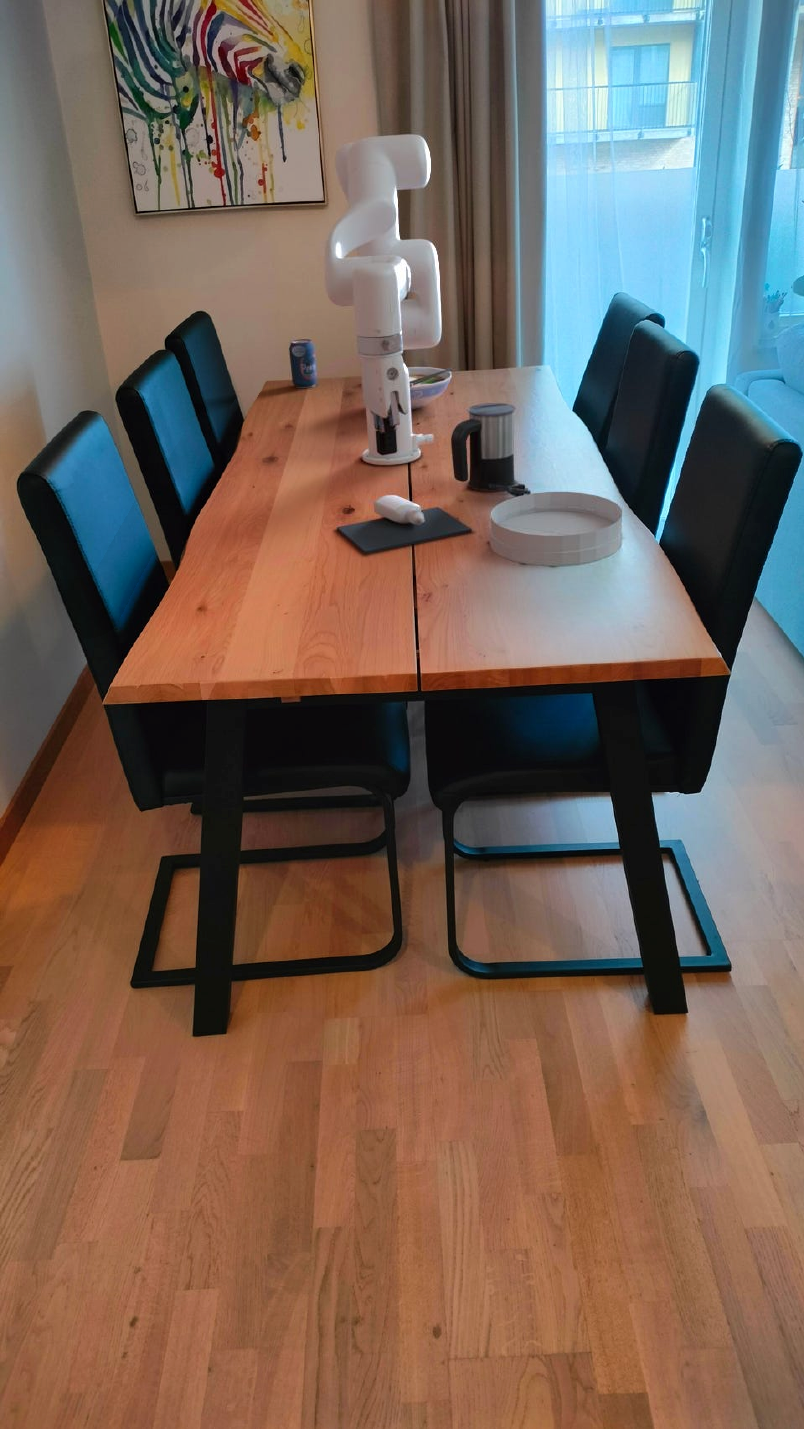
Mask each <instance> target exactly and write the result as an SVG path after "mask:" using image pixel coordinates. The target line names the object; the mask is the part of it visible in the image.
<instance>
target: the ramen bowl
mask: <svg viewBox="0 0 804 1429" xmlns="http://www.w3.org/2000/svg"><path fill="white" fill-rule="evenodd" d="M456 368H457V367H456V366H452V367H449V368H446V369H443V368H438V367H428V366H426V367H425V366H413V367H409V366H408V367H407V370H408V373H409V384H410V402H411V411H412V410H417V409H420V408H423V407H424V406H425V405H427V404H430V403H432V402H433V401H435V400H436V399H438V398H439V397H440V396H441V395H443V394H444V392H445V391H446V389H447V388H448V386H449V384H450V381H451V379H452V372H451V371H452V370H455V369H456ZM360 382H361V383H362V380H361V381H360Z"/></svg>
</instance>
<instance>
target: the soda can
mask: <svg viewBox="0 0 804 1429" xmlns="http://www.w3.org/2000/svg"><path fill="white" fill-rule="evenodd" d="M315 352H316V351H315V346H314V344H313V342H312V339H308V338H301V339H299V338H298V339H293V340H291V341H290V342H289V347H288V354H289V363H290V371H291V378H292V379H291V382H292V384H293V385H294V387H295V389H296V388H297V389H309V388H310V389H311V388H314V387H316V384H317V382H318V374H317V372H318V371H317V364H316V354H315Z"/></svg>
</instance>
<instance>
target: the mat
mask: <svg viewBox="0 0 804 1429" xmlns="http://www.w3.org/2000/svg"><path fill="white" fill-rule="evenodd" d="M421 512H422V513H423V515H424V519H425V521H424V522H422V523H421V524H420V525H415V524H412V523H408V524H401V523H397V522H394V521H392V520H390V519H387V518H385V517H380V518H374V519H370V520H365V521H361V522H356V523H351V524H345V525H341V526H336V531H337V532H339V533H340V534H341V535H342V536H343V537H344V538H346V539H347V540H348V541H349V542H350V543H351V544H352V545H354V547H356V548H357V549H358V550H360V551H361V552H362V553H363V554H364V555H365V556H366V555H370V554H374V553H379V552H385V551H389V550H394V549H399V548H403V547H408V546H413V545H417V544H423V543H426V542H427V543H428V542H432V541H437V540H441V539H445V538H450V537H455V536H461V535H465V534H470V533H472V530H473V529H472V528H471V527H469V526H468V525H467V524H465V523H463V522H462V521H460V520H458V519H457V518H455V517H454V516H452V515H451V514H450V513H448V512H446V511H445V510H443V509H442V508H440V507H438V506H434V507H430V508H424V509H421Z"/></svg>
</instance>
